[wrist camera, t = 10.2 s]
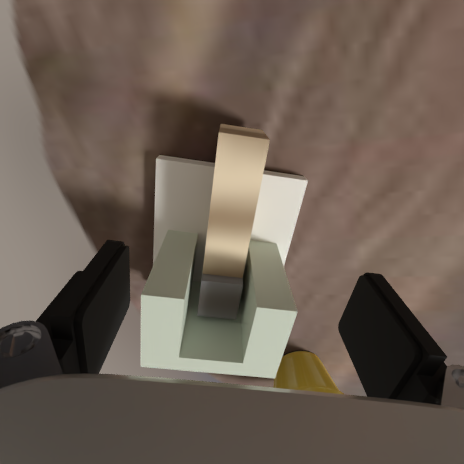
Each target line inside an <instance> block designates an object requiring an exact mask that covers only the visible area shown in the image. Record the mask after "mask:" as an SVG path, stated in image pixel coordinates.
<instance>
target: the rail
mask: <svg viewBox="0 0 464 464" xmlns="http://www.w3.org/2000/svg"><path fill="white" fill-rule="evenodd" d="M269 142H270V139H269V138H268V137H267V135H266V134H265V133H264V132H263V130H259V129H253V128H246V127H239V126H233V125H226V124H220V129H219V135H218V143H217V152H216V161H215V169H214V178H213V186H212V195H211V203H210V212H209V220H208V229H207V238H206V246H205V255H204V263H203V272H202V279H201V288H200V296H199V305H198V313H197V316H206V317H216V318H226V319H236V318H237V313H238V308H239V303H240V298H241V293H242V288H243V273H244V268H245V263H246V258H247V253H248V248H249V243H250V238H251V233H252V228H253V223H254V218H255V212H256V207H257V202H258V197H259V192H260V187H261V182H262V177H263V172H264V167H265V162H266V157H267V152H268V147H269Z"/></svg>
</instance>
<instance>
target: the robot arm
mask: <svg viewBox="0 0 464 464" xmlns="http://www.w3.org/2000/svg"><path fill="white" fill-rule="evenodd" d="M129 304H130V269H129V247H128V246H125V244H124V242H121V241H113V240H107V241H106V242H105V244H104V245H103V246H102V248H101V249H100V250H99V251H98V253H97V254H96V255H95V256H94V258H93V259H92V260H91V262H90V263H89V264H88V266H87V267H86V268H85V270H84V271H78V272H76V273H75V274H74V275H73V277H72V278H71V279H70V280H69V282H68V283H67V284H66V285H65V286H64V288H63V289H62V290H61V291H60V293H59V294H58V295H57V296H56V297H55V299H54V300H53V301H52V302H51V303H50V305H49V306H48V307H47V308H46V310H45V311H44V312H43V313H42V314H41V316H40V317H39V318H38V319H37V320H36V321H21V322H17V323H12V324H10V325H7V326H5V327H2V328H1V329H0V464H464V366H461V365H450V366H448V367H447V366H446V364H445V363H444V361H445V359H446V358H447V356H446V355H445V353H444V352H443V351H442V350H441V348H440V347H439V346H438V345H437V343H436V342H435V341H434V340H433V338H432V337H431V336H430V335H429V333H428V332H427V331H426V330H425V328H424V327H423V326H422V325H421V323H420V322H419V321H418V319H417V318H416V317H415V316H414V314H413V313H412V312H411V311H410V309H409V308H408V307H407V306H406V304H405V303H404V302H403V301H402V299H401V298H400V297H399V296H398V294H397V293H396V292H395V291H394V289H393V288H392V287H391V286H390V284H389V283H388V282H387V280H386V279H385V278H384V277H383V276H382V275H381V274H375V273H365V274H364V275H362V276H360V277H359V279H358V281H357V283H356V285H355V288H354V290H353V292H352V295H351V297H350V299H349V301H348V304H347V306H346V308H345V310H344V313H343V315H342V317H341V320H340V322H339V326H338V329H339V333H340V335H341V337H342V340H343V342H344V344H345V346H346V349H347V351H348V353H349V356H350V358H351V360H352V362H353V365H354V367H355V369H356V371H357V374H358V376H359V378H360V381H361V383H362V385H363V387H364V390H365V392H366V394H367V397H366V396H356V395H345V394H335V393H325V392H315V391H304V390H293V389H282V388H272V387H261V386H250V385H239V384H228V383H216V382H204V381H193V380H181V379H170V378H158V377H142V376H128V375H115V374H99V372H100V370H101V367H102V365H103V363H104V361H105V359H106V356H107V354H108V352H109V350H110V347H111V345H112V343H113V341H114V339H115V337H116V334H117V332H118V330H119V328H120V325H121V323H122V321H123V319H124V317H125V315H126V312H127V310H128V308H129Z"/></svg>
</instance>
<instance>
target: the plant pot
mask: <svg viewBox="0 0 464 464" xmlns="http://www.w3.org/2000/svg"><path fill="white" fill-rule="evenodd" d="M274 388H282V389H293V390H304V391H315V392H325V393H335V394H344V393H342V392H340V391H339V390H338V388H337V386H336V385H335V383H334V382H333V380H332V378H331V377H330V375H329V374H328V372H327V370H326V369H325V367H324V365H323V364H322V362H321V361H320V359H319V358H318V357H317V356H316V355H315V354H313V353H311V352H307V351H296V352H291V353H288V354H286V355H284V356H283V357H282V359H281V362H280V365H279V368H278V371H277V374H276V377H275V378H274Z"/></svg>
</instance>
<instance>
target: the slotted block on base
mask: <svg viewBox="0 0 464 464" xmlns="http://www.w3.org/2000/svg"><path fill="white" fill-rule="evenodd" d="M214 169H215V163H211V162H205V161H198V160H191V159H184V158H178V157H171V156H164V155H159V156H158V157H157V158H156V180H155V214H154V248H153V267H152V270H151V272H150V275H149V277H148V279H147V282H146V284H145V287H144V289H143V291H142V294H141V367H151V368H162V369H173V370H185V371H196V372H207V373H219V374H230V375H241V376H252V377H264V378H275V377H276V374H277V371H278V368H279V365H280V362H281V359H282V356H283V353H284V350H285V347H286V344H287V341H288V338H289V336H290V333H291V330H292V327H293V324H294V321H295V318H296V315H297V308H296V305H295V302H294V299H293V295H292V292H291V289H290V286H289V282H288V279H287V276H286V273H285V269H284V264H285V260H286V257H287V253H288V250H289V246H290V242H291V239H292V235H293V232H294V228H295V225H296V221H297V218H298V214H299V210H300V207H301V203H302V200H303V196H304V193H305V189H306V186H307V182H308V180H307V179H306V178H305V177H304V176H299V175H293V174H286V173H279V172H272V171H266V170H264V172H263V177H262V182H261V187H260V192H259V197H258V202H257V207H256V212H255V218H254V223H253V228H252V233H251V238H250V243H249V248H248V253H247V258H246V263H245V268H244V273H243V288H242V293H241V298H240V303H239V308H238V313H237V318H236V319H226V318H216V317H206V316H197V313H198V305H199V296H200V288H201V279H202V272H203V263H204V255H205V246H206V238H207V229H208V220H209V212H210V203H211V195H212V186H213V178H214Z"/></svg>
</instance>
